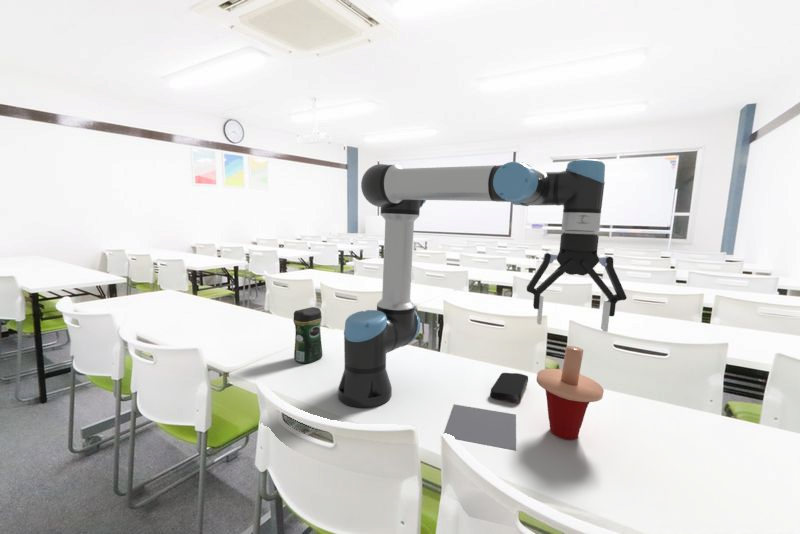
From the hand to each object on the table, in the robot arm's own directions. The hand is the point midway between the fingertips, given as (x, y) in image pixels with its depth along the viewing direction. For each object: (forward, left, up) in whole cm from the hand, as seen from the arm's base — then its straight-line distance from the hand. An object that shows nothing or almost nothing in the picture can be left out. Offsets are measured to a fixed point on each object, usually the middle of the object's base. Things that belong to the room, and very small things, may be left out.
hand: (570, 326), depth 83 cm
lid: (0, 0, -14) cm, 14 cm away
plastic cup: (0, 0, -26) cm, 26 cm away
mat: (-19, -3, -26) cm, 32 cm away
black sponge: (-12, +19, -27) cm, 35 cm away
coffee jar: (-82, +22, -26) cm, 88 cm away
